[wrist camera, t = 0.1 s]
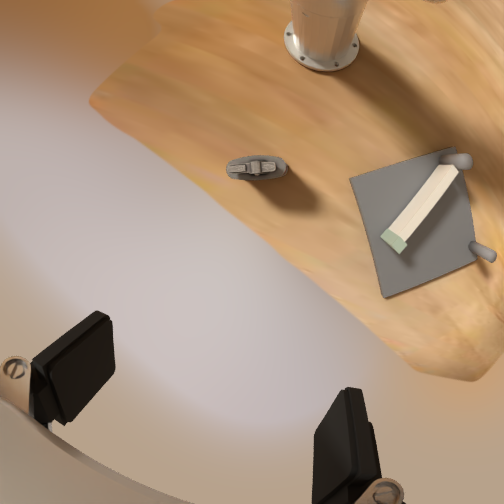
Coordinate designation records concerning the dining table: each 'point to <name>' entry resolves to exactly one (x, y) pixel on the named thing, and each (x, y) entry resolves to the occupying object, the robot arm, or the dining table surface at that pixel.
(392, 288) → the base
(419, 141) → the dining table surface
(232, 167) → the lighter
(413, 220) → the pale rectangular block
